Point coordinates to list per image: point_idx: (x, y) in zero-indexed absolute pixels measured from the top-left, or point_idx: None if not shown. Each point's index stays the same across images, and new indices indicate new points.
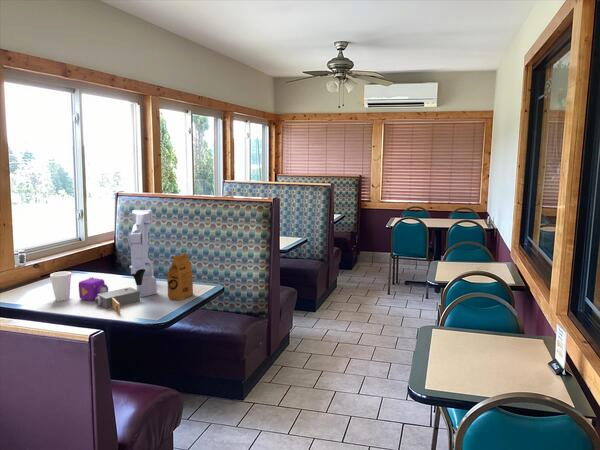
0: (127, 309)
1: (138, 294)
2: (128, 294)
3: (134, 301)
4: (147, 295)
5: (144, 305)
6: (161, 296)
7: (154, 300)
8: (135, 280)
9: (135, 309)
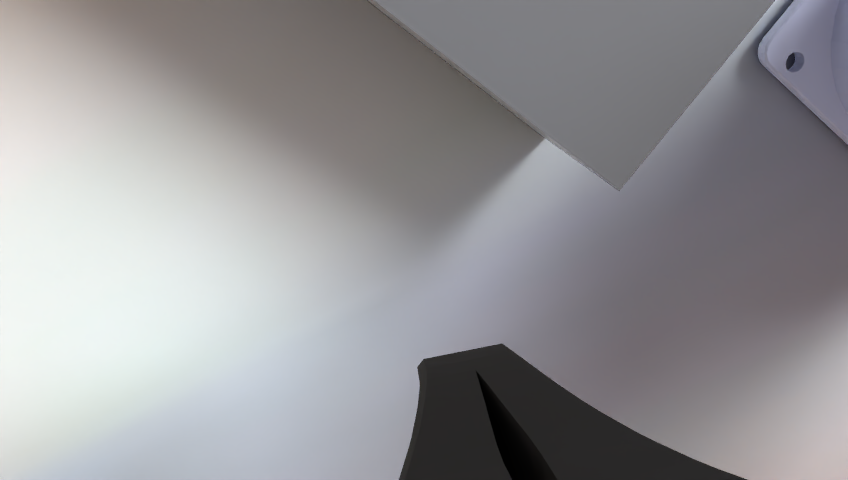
0: (26, 159)
1: (571, 155)
2: (392, 14)
3: (464, 75)
4: (834, 131)
5: (316, 332)
6: (793, 356)
7: (590, 354)
8: (415, 452)
9: (73, 297)
